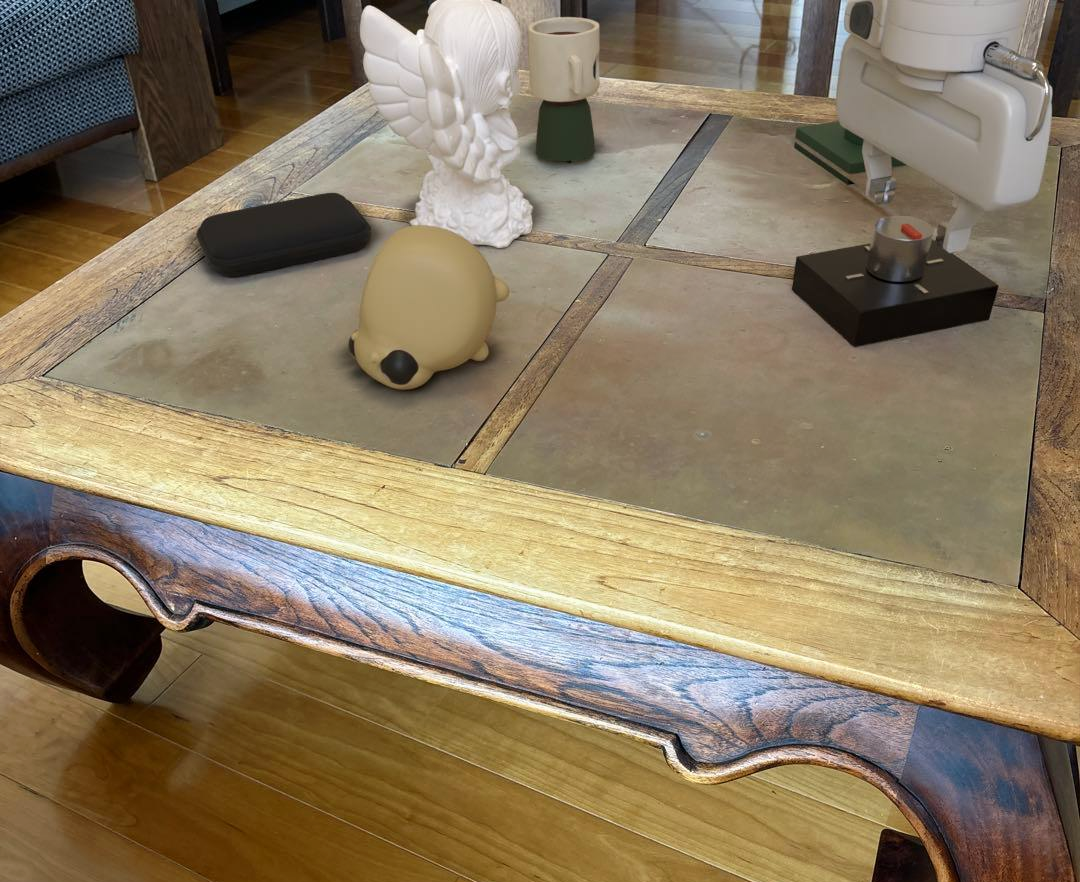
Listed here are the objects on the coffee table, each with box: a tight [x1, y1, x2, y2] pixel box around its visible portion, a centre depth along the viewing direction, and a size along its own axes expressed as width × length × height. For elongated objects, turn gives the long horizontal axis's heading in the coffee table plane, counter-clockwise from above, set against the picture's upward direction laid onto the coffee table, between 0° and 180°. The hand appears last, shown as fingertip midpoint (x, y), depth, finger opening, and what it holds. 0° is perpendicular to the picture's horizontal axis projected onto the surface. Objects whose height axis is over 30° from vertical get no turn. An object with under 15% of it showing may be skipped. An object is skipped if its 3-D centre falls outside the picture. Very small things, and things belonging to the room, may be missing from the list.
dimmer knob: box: [866, 215, 935, 282], centre depth 80 cm, size 4×4×4 cm
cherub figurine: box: [359, 0, 534, 249], centre depth 89 cm, size 13×12×20 cm
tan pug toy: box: [348, 225, 510, 390], centre depth 75 cm, size 10×12×11 cm
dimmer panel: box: [791, 238, 1000, 348], centre depth 82 cm, size 12×10×3 cm
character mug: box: [527, 16, 601, 164], centre depth 105 cm, size 11×7×13 cm, turn 14°
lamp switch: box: [793, 120, 907, 186], centre depth 105 cm, size 13×11×4 cm
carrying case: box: [195, 192, 373, 277], centre depth 93 cm, size 11×3×15 cm
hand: (912, 223), depth 78 cm, fingers open, 8 cm apart
